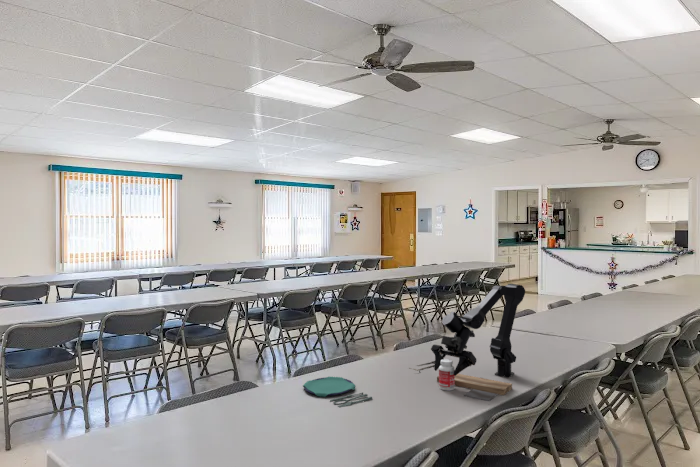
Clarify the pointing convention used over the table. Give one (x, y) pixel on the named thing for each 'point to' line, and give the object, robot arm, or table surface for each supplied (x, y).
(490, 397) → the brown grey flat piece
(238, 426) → the table surface
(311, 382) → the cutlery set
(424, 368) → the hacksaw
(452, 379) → the pill bottle
